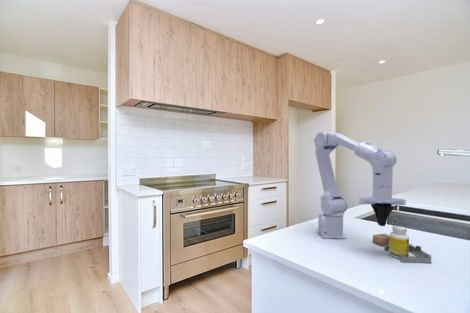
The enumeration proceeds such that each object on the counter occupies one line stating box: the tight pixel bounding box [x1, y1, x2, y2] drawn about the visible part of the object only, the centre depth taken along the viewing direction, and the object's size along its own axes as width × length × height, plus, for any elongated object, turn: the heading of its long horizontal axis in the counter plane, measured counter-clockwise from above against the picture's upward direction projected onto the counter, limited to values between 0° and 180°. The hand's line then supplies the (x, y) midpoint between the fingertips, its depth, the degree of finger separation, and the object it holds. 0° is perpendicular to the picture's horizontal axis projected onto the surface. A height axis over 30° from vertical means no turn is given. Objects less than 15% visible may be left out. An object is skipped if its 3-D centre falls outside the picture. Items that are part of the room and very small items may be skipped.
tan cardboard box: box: [372, 233, 390, 247], centre depth 93 cm, size 6×4×3 cm, turn 107°
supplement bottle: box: [388, 225, 410, 260], centre depth 82 cm, size 5×5×10 cm
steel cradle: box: [383, 243, 432, 264], centre depth 82 cm, size 9×10×3 cm
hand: (381, 225), depth 83 cm, fingers closed
